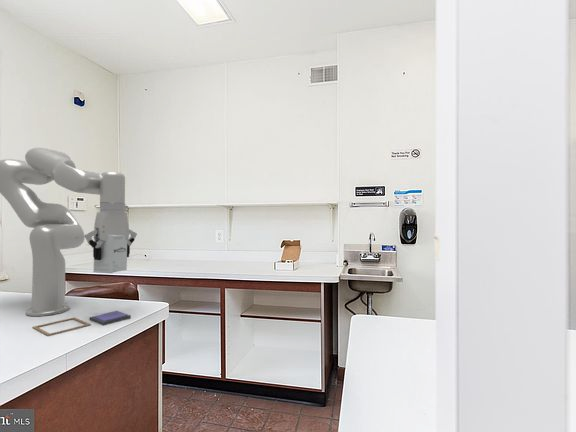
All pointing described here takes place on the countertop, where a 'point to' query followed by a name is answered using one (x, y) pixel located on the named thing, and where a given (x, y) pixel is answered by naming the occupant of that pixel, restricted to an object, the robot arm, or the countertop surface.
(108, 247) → the supplement box
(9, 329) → the countertop surface
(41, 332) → the tan picture frame
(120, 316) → the ink pad
